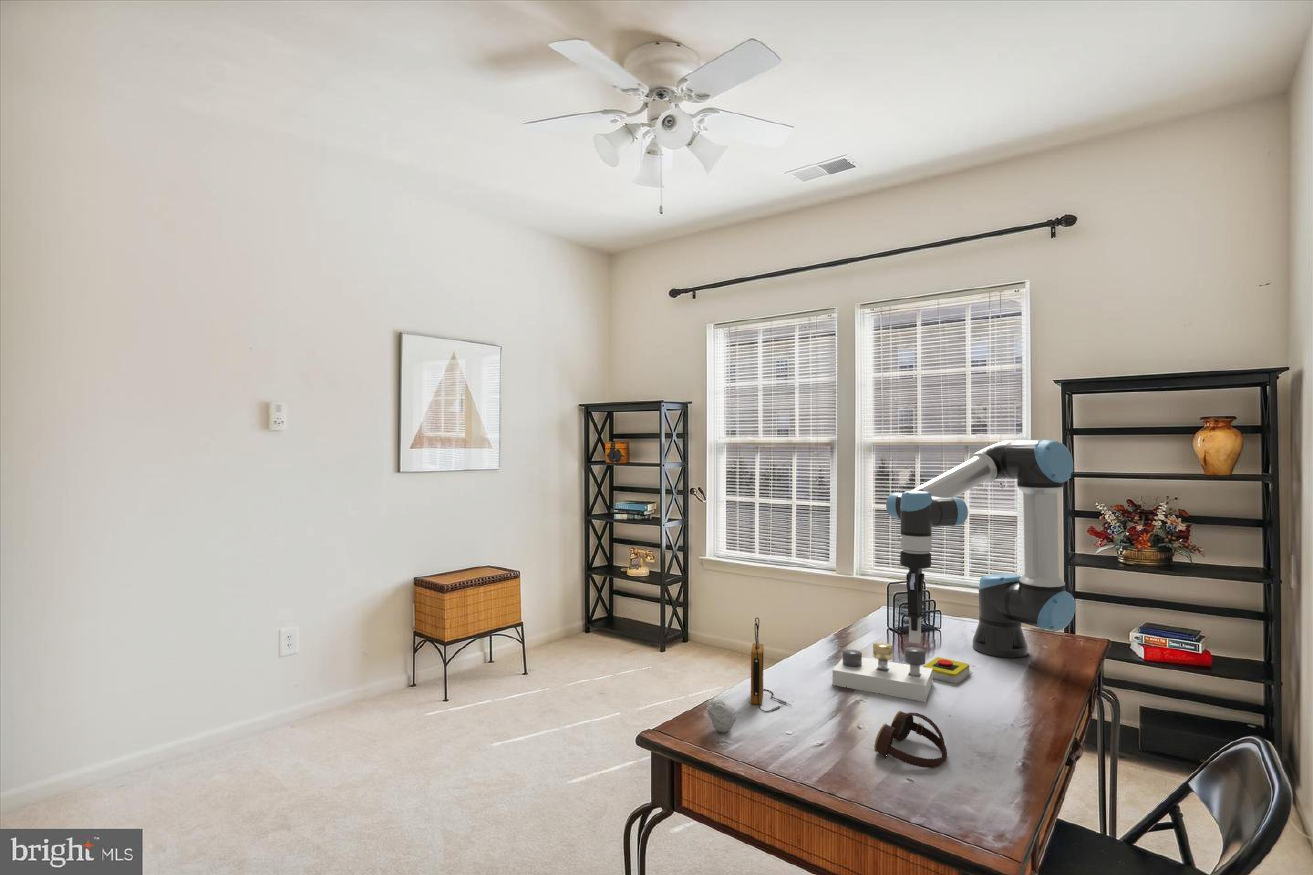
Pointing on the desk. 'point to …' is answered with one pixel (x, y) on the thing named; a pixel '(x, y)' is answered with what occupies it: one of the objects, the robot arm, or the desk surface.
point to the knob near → (914, 659)
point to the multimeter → (758, 673)
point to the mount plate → (884, 679)
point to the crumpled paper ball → (721, 715)
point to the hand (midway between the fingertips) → (914, 641)
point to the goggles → (900, 732)
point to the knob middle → (883, 655)
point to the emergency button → (948, 671)
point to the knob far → (852, 658)
